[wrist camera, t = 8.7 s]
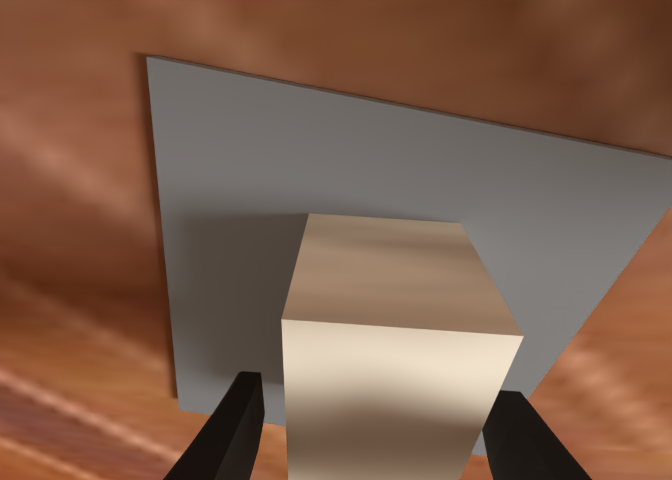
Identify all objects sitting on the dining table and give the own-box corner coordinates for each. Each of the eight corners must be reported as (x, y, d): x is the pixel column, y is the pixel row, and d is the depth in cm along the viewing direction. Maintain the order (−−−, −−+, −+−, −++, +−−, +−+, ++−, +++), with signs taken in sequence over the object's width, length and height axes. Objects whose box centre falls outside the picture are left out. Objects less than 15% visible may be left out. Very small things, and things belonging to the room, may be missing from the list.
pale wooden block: (415, 395, 16) (437, 527, 12) (307, 387, 16) (290, 516, 12) (460, 223, 11) (523, 335, 7) (309, 213, 12) (281, 319, 7)
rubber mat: (683, 159, 11) (700, 165, 10) (481, 444, 19) (485, 456, 18) (157, 55, 10) (146, 56, 9) (184, 399, 18) (179, 410, 17)
